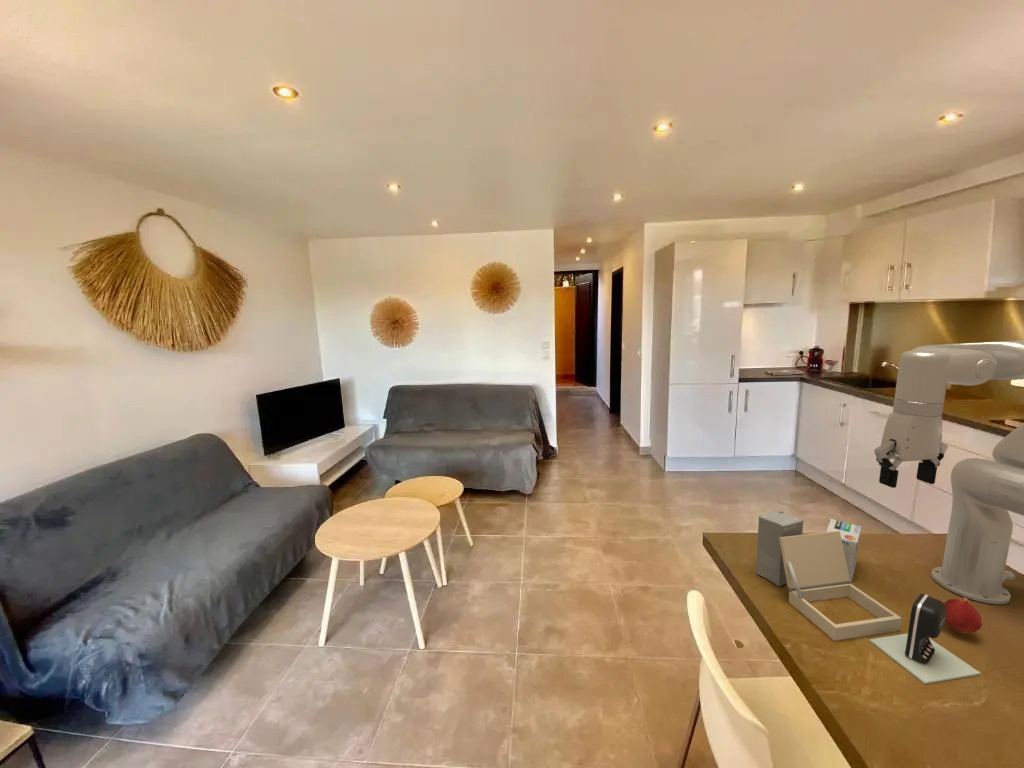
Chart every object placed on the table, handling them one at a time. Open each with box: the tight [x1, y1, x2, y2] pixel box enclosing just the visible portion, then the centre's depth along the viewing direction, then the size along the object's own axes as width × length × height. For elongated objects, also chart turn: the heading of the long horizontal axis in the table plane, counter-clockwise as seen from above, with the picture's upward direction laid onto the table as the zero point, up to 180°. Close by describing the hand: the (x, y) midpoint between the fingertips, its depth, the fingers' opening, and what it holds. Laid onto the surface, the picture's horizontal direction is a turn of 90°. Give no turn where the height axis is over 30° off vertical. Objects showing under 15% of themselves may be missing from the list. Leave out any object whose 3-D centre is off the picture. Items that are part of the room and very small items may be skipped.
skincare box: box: [755, 510, 804, 587], centre depth 103 cm, size 8×7×16 cm
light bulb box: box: [825, 518, 862, 582], centre depth 105 cm, size 11×7×11 cm, turn 136°
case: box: [779, 531, 903, 642], centre depth 91 cm, size 16×16×14 cm
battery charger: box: [905, 593, 946, 664], centre depth 78 cm, size 7×4×11 cm, turn 123°
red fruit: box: [943, 597, 983, 634], centre depth 84 cm, size 6×6×8 cm
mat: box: [868, 632, 982, 685], centre depth 79 cm, size 12×10×1 cm
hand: (906, 483), depth 90 cm, fingers open, 9 cm apart
